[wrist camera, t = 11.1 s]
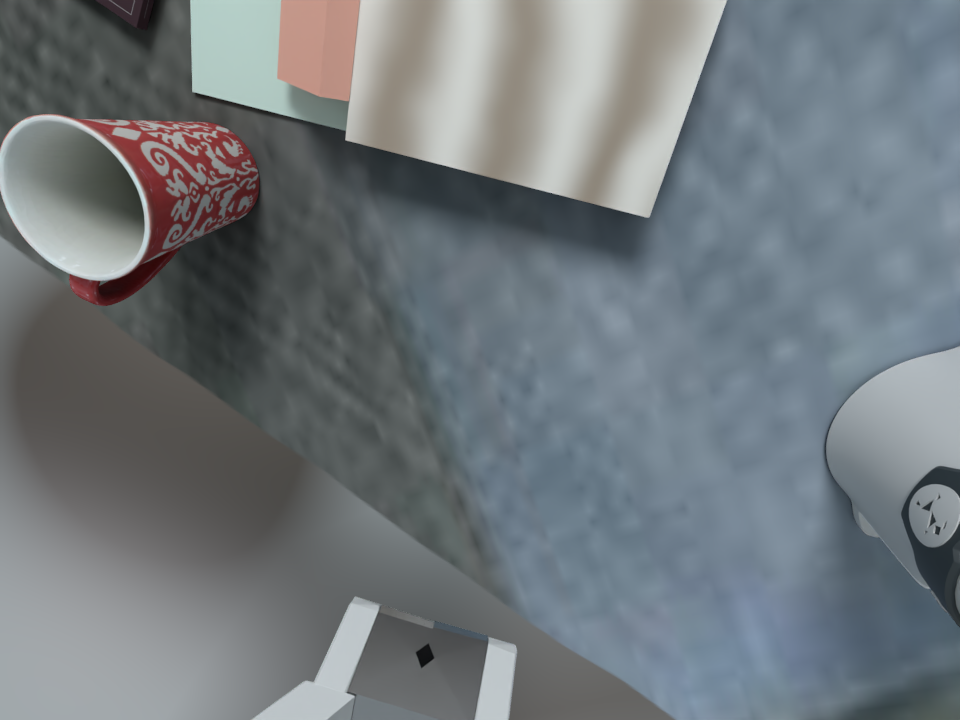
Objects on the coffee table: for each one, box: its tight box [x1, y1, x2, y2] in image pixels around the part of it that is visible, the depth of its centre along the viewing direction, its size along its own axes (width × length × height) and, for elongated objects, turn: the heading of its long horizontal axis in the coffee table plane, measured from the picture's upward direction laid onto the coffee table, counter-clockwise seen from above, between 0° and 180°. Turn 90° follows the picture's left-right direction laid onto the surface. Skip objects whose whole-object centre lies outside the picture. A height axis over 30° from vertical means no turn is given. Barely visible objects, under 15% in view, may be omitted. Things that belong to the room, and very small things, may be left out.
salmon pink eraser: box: [277, 0, 360, 101], centre depth 34 cm, size 6×9×2 cm
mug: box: [0, 114, 259, 306], centre depth 38 cm, size 13×9×14 cm
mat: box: [191, 0, 350, 131], centre depth 37 cm, size 14×14×1 cm
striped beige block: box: [345, 0, 727, 218], centre depth 34 cm, size 20×14×4 cm
